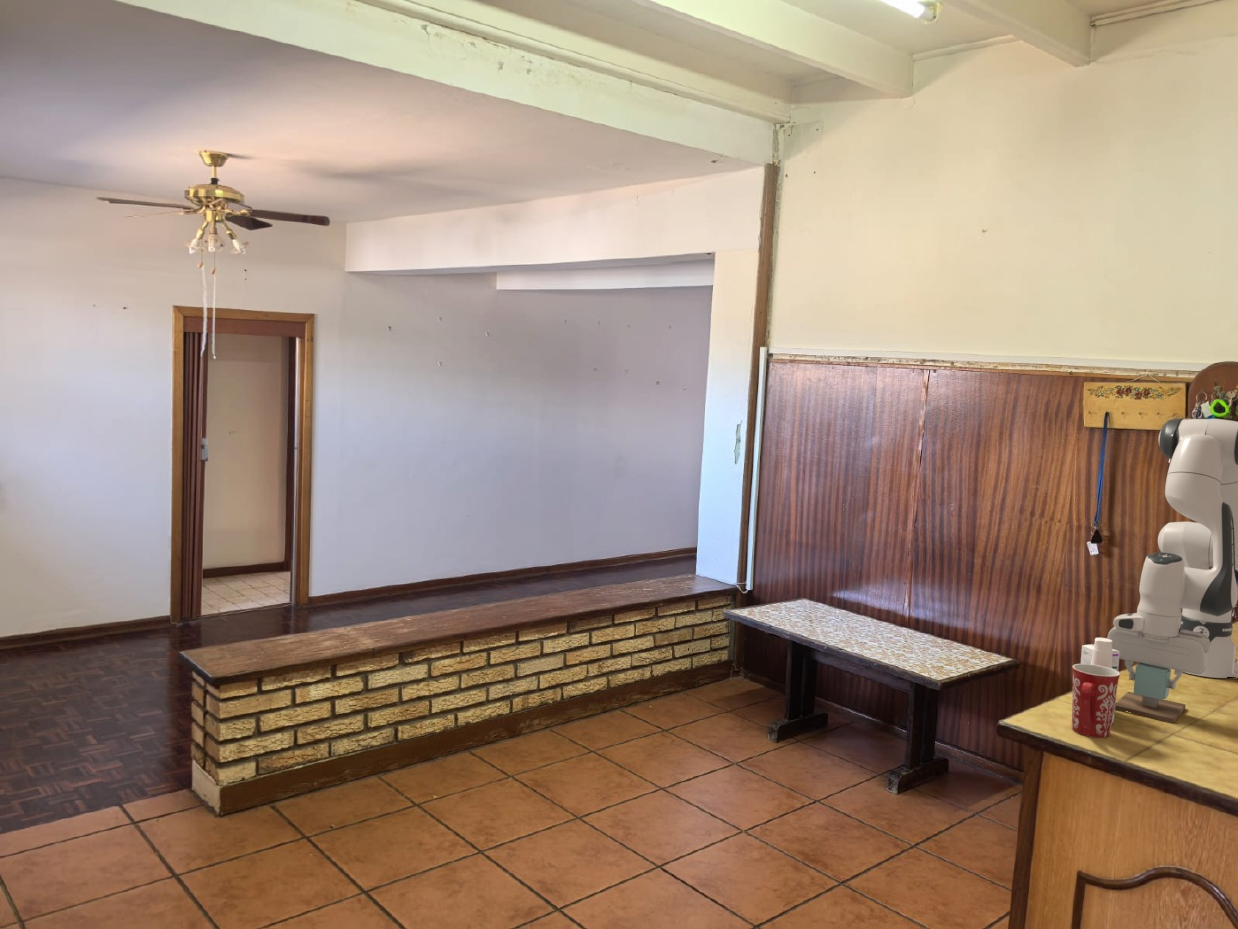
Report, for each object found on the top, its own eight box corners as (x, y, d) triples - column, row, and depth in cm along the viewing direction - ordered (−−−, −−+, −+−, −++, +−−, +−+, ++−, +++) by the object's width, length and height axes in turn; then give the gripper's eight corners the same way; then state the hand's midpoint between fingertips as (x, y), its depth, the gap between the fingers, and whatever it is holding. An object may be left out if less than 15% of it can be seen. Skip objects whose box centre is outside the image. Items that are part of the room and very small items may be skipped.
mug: (1073, 721, 209) (1079, 660, 207) (1119, 732, 203) (1125, 670, 201) (1055, 735, 199) (1061, 672, 198) (1102, 747, 193) (1108, 682, 192)
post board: (1127, 695, 228) (1130, 667, 228) (1185, 708, 221) (1188, 679, 220) (1113, 709, 218) (1116, 680, 217) (1173, 723, 210) (1176, 693, 210)
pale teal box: (1138, 687, 223) (1141, 659, 223) (1169, 694, 219) (1172, 666, 219) (1132, 693, 218) (1135, 665, 218) (1163, 700, 214) (1166, 671, 214)
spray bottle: (1117, 727, 206) (1125, 645, 204) (1083, 723, 207) (1091, 642, 206) (1108, 716, 213) (1115, 637, 211) (1075, 712, 214) (1082, 634, 212)
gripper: (1213, 631, 213) (1206, 692, 214) (1112, 614, 226) (1107, 671, 227) (1208, 636, 208) (1202, 698, 210) (1106, 618, 221) (1100, 676, 223)
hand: (1151, 684), depth 219 cm, fingers closed on pale teal box, 6 cm apart
